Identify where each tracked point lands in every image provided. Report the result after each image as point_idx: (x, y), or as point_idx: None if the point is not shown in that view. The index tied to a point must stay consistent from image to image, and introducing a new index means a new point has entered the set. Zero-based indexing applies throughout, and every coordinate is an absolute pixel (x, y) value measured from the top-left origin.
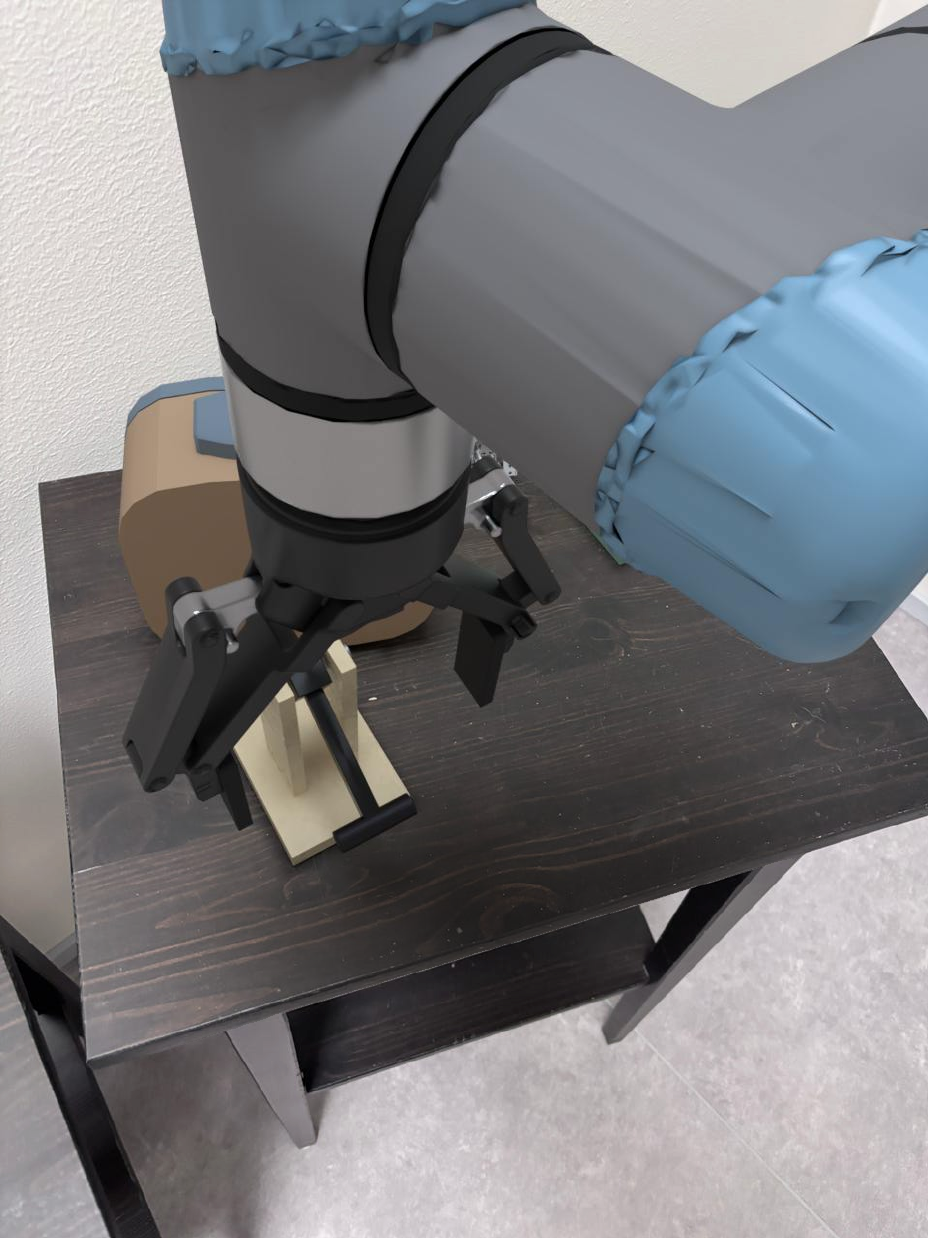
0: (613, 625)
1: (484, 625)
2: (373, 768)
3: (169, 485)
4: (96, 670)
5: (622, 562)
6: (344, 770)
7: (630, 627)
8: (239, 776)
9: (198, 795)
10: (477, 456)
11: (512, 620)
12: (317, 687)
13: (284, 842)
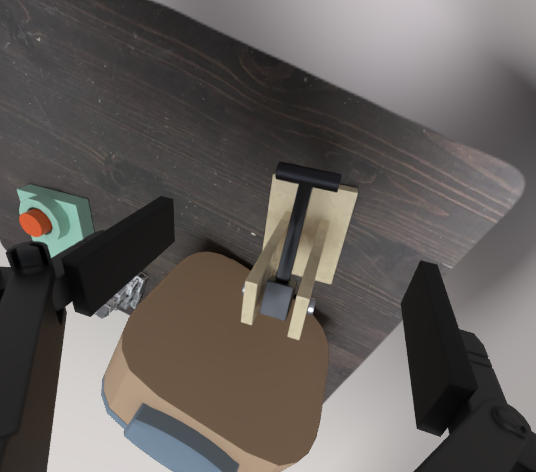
0: (109, 173)
1: (82, 283)
2: (280, 203)
3: (269, 463)
4: (361, 340)
5: (85, 199)
6: (301, 222)
7: (101, 165)
8: (444, 350)
9: (484, 351)
10: (120, 300)
11: (35, 273)
12: (278, 284)
13: (354, 204)
